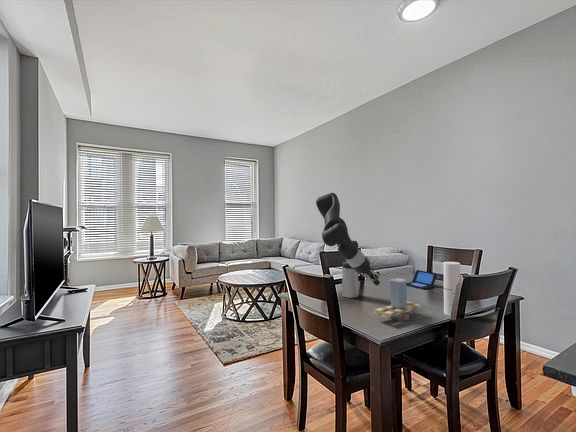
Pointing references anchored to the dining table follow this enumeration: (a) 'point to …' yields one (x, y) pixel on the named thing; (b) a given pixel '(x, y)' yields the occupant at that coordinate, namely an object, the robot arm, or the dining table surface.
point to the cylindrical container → (450, 284)
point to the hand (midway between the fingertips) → (377, 283)
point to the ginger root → (397, 311)
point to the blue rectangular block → (398, 293)
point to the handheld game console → (423, 280)
